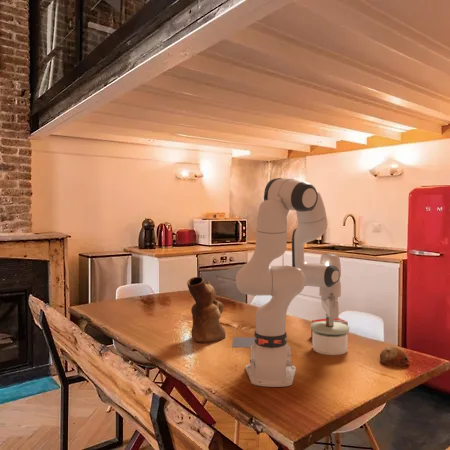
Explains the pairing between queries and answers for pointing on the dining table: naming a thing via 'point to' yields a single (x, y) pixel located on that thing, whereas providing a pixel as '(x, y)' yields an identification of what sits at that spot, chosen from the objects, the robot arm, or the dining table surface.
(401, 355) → the brown rounded lump
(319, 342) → the bowl
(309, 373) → the dining table surface
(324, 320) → the medicine box
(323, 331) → the lid
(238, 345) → the mat
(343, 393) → the dining table surface
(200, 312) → the ceramic vessel
